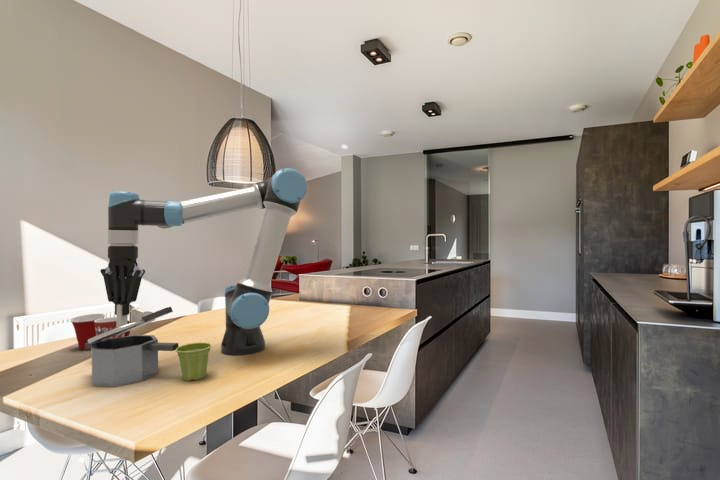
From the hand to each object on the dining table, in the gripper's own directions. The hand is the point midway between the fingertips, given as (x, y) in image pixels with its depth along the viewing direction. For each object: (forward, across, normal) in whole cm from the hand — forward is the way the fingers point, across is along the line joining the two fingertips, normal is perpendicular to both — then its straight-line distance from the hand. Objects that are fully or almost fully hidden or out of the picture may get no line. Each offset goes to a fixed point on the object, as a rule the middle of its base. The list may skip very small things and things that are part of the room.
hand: (121, 326), depth 113 cm
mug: (+15, +17, -17) cm, 28 cm away
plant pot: (+14, -22, -1) cm, 26 cm away
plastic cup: (+16, +37, -27) cm, 48 cm away
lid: (0, -4, 0) cm, 4 cm away
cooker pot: (+14, -3, 0) cm, 15 cm away
